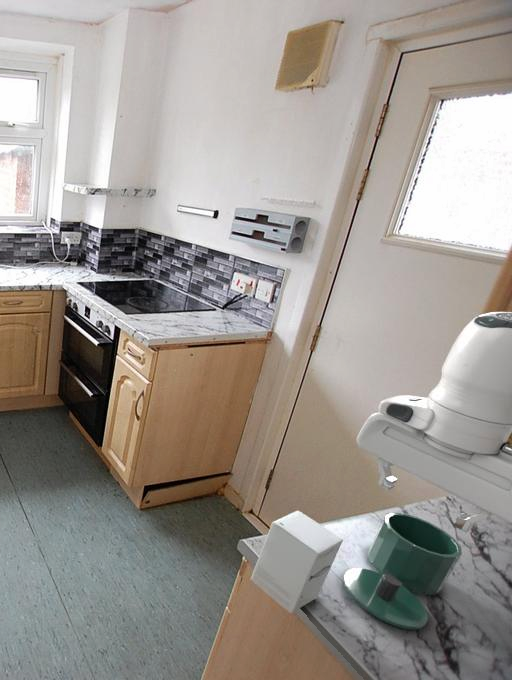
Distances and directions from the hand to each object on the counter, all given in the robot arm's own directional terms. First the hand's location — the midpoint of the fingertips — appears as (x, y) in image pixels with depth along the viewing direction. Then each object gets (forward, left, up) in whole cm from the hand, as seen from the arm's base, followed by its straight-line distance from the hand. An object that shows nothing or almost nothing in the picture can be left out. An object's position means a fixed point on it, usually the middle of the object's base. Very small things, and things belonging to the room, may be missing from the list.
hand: (421, 506), depth 68 cm
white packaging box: (+14, +3, -20) cm, 24 cm away
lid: (-2, -1, -19) cm, 19 cm away
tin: (-8, -11, -20) cm, 24 cm away
